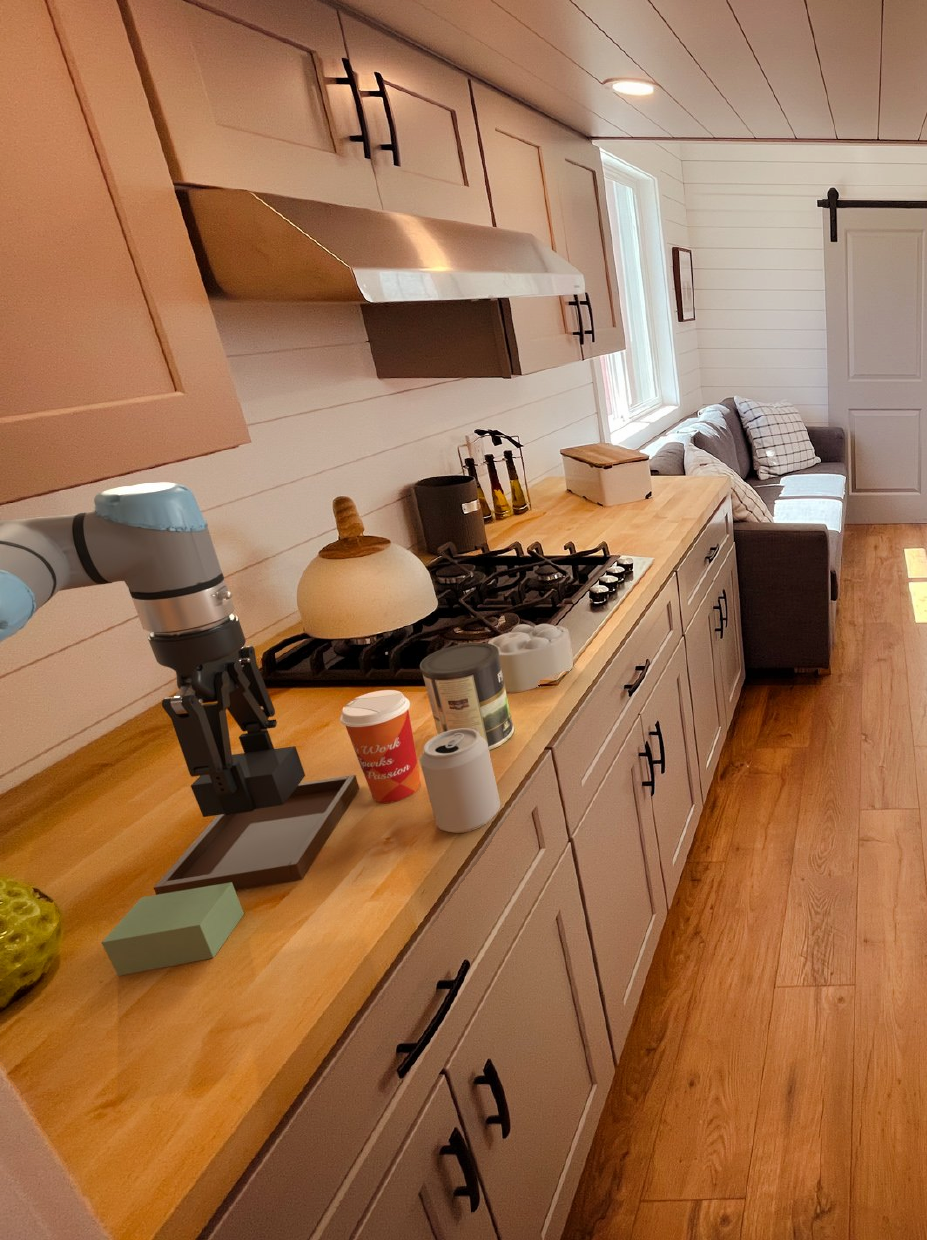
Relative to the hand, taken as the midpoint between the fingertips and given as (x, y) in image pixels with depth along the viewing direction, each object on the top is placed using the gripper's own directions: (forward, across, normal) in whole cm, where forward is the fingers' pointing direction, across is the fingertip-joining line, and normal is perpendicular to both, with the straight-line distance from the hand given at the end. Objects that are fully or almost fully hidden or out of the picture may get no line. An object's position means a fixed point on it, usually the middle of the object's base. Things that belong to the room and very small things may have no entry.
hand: (255, 793), depth 88 cm
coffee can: (+7, +18, -19) cm, 28 cm away
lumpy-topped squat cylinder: (+7, +38, -25) cm, 46 cm away
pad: (+7, -16, +1) cm, 17 cm away
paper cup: (+7, +7, -12) cm, 16 cm away
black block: (0, 0, 0) cm, 0 cm away
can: (+7, -2, -23) cm, 24 cm away
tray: (+7, 0, 0) cm, 7 cm away
